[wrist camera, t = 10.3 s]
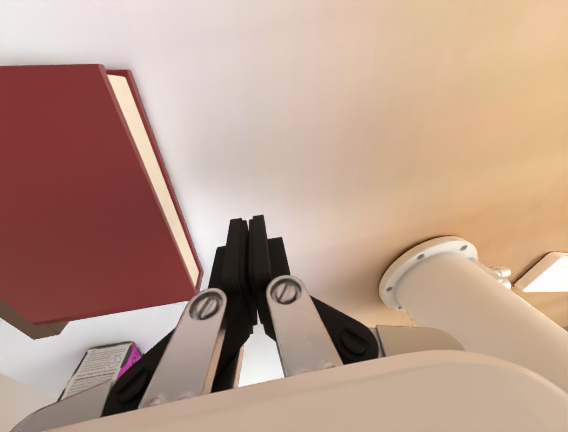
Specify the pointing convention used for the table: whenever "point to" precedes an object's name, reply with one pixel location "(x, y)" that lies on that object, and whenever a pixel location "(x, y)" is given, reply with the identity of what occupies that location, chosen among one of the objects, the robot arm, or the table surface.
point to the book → (85, 199)
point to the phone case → (546, 275)
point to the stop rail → (28, 323)
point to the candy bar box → (101, 367)
